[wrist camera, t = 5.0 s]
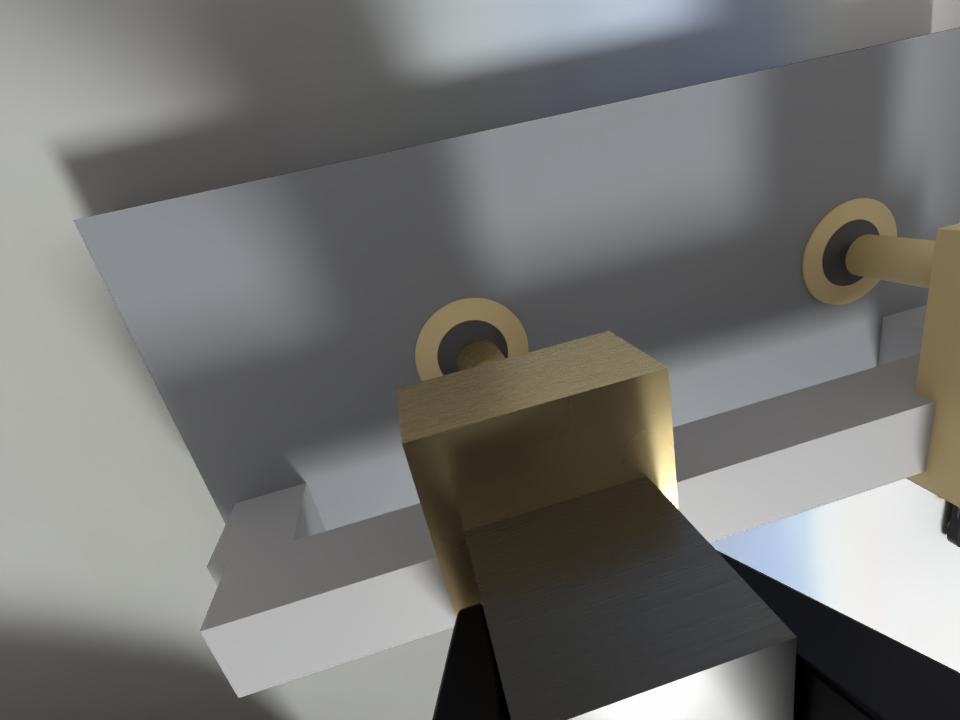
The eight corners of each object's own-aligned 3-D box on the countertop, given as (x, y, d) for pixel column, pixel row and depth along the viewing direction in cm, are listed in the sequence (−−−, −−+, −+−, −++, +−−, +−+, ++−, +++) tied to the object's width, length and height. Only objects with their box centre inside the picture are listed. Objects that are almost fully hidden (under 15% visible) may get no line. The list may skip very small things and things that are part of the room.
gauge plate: (932, 36, 15) (1423, -98, 8) (891, 387, 19) (1184, 501, 12) (108, 216, 12) (-251, 254, 5) (278, 575, 17) (206, 855, 10)
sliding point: (539, 287, 13) (853, 481, 4) (572, 487, 15) (818, 866, 7) (391, 325, 12) (418, 624, 4) (449, 525, 15) (544, 981, 6)
